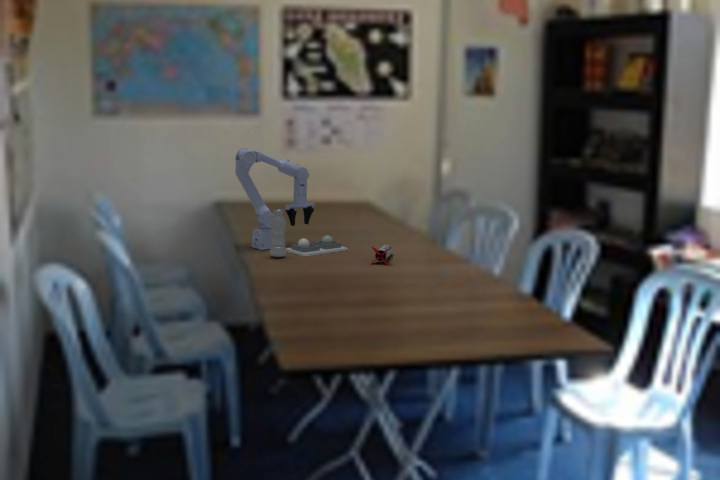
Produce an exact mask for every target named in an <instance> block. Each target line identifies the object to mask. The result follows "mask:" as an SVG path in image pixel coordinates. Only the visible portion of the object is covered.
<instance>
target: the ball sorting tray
mask: <svg viewBox="0 0 720 480" xmlns="http://www.w3.org/2000/svg"><path fill="white" fill-rule="evenodd" d="M309 243H310V242H309ZM346 250H347V251H349V248H348V247H346V246H342V242H340V241H334V240H333V244H323V243H322V240H317V241H313V242H312V243H310V245H309V247H301V246H298V243H293V244H291V247H286V253H289V254H290V253H291V254H295V255H298V256H301V257H304V258H305V257H311V256H317V255H324V254H331V253H332V252H333V253H339V251H340V252H346Z"/></svg>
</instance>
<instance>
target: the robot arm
mask: <svg viewBox="0 0 720 480" xmlns="http://www.w3.org/2000/svg"><path fill="white" fill-rule="evenodd" d="M234 161H235V176H236V177H237V179H238V181H239V183H240V184H241V186H242V188H243V190H244V192H245V194H246V196H247V198H248V199H249V201H250V203H251V204H252V206H253V208H254V210H255V211H254V212H255V214H256V219H257V222H258V226H257V227H256V228H254V229H253V231H252V234H251V237H252V239H251V246H250V248H254V249H257V250H260V251H262V250H270V246H271V226H270V220H271V218H272V217H273V216H274V213H272V212H271V210H270V208H269V207H268V206H267V205H266V203H265V201H264V199H263V198H262V195H261V194H260V192H259V190H258V189H257V187H256V184H255V183H254V182H253V179H252V177H251V176H250V174H249V172H250V170H251V169H252V167H253V165H255V163H261V162H263V163H265V164H267V165H270V166H273V167H276V168H277V169H278V172H279V173H282V174H284V175H287V176H289V177H293V203H290V204H285V205H284V206H285V207H284V210H285V213H286V214H287V217H288V221H289V224H290V227H291V226H292V227H295V226H296V216H297V212H298V211H297V210H298V209H302V211H303V223H304V224H305V225H309V224H310V220H311V216H312V215H313V213H314V211H315V202H307V194H308V179H309V178H310V173H309V170H308V168H306V167H304V166H301V165H300V164H299V163H294V162H293V161H290V159H289V158H286V159H280V160H279V159H276V158H275V157H272V156H270V155H268V154H265V153H264V152H261V151H258V150H254V149H249V148H246V147H242V148H240V149H239V150H237V152H236V154H235V158H234ZM304 224H303V225H304Z"/></svg>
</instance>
